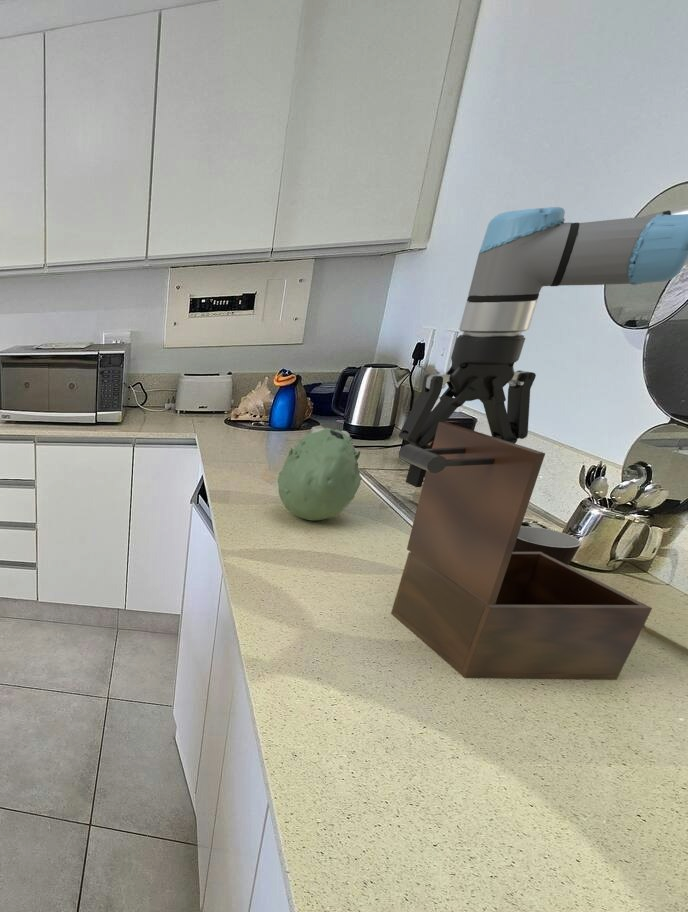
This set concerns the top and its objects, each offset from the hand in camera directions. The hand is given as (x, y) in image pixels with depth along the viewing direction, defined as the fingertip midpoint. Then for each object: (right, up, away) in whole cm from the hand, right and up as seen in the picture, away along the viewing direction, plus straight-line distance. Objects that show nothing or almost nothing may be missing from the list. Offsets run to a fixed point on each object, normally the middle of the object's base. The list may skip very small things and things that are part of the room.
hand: (447, 483), depth 91 cm
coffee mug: (+17, -17, +7) cm, 25 cm away
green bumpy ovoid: (+1, -4, +39) cm, 39 cm away
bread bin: (0, -24, -7) cm, 25 cm away
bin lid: (-10, -5, -15) cm, 18 cm away
